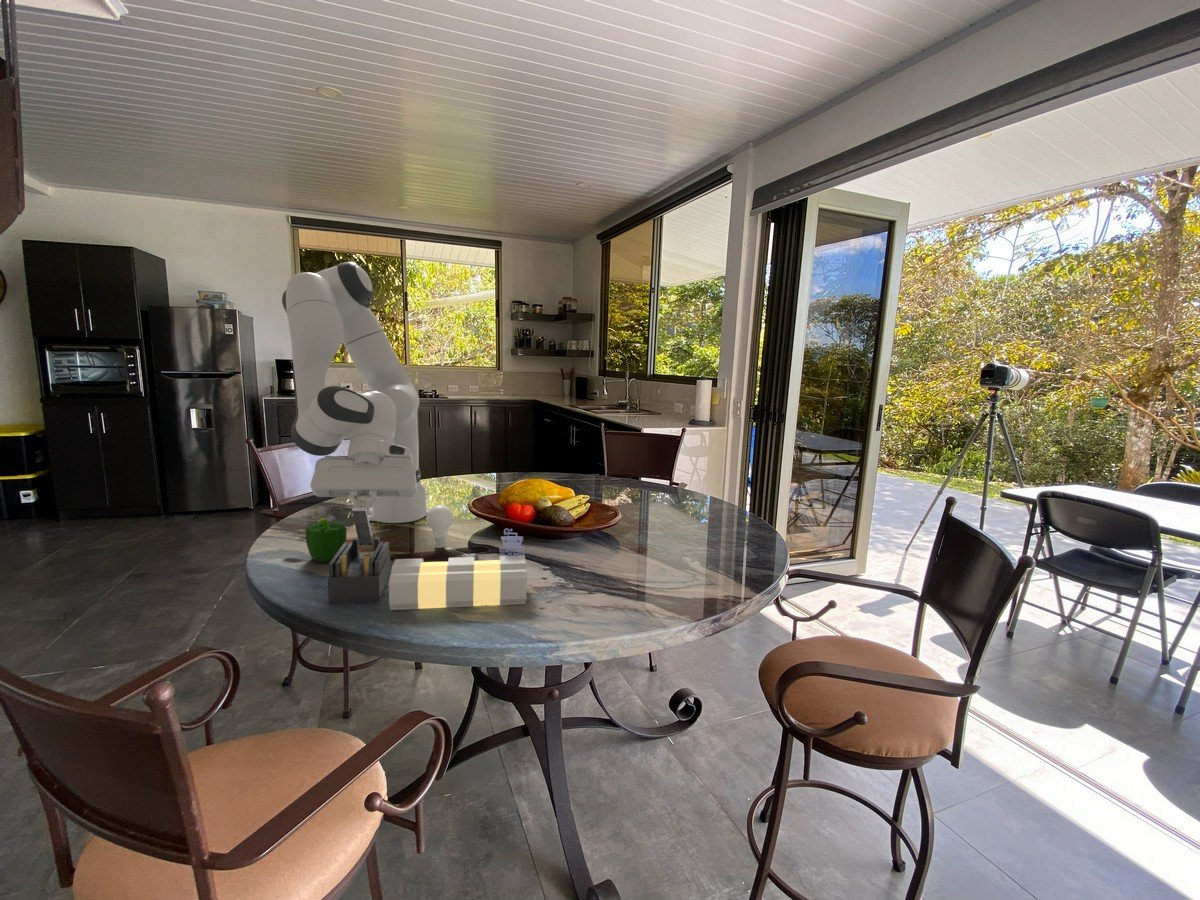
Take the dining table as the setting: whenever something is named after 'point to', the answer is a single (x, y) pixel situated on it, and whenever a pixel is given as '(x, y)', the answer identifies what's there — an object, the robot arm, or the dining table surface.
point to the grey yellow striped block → (460, 581)
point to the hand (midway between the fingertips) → (361, 513)
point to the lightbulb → (440, 523)
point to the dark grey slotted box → (358, 573)
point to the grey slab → (362, 526)
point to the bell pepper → (325, 539)
